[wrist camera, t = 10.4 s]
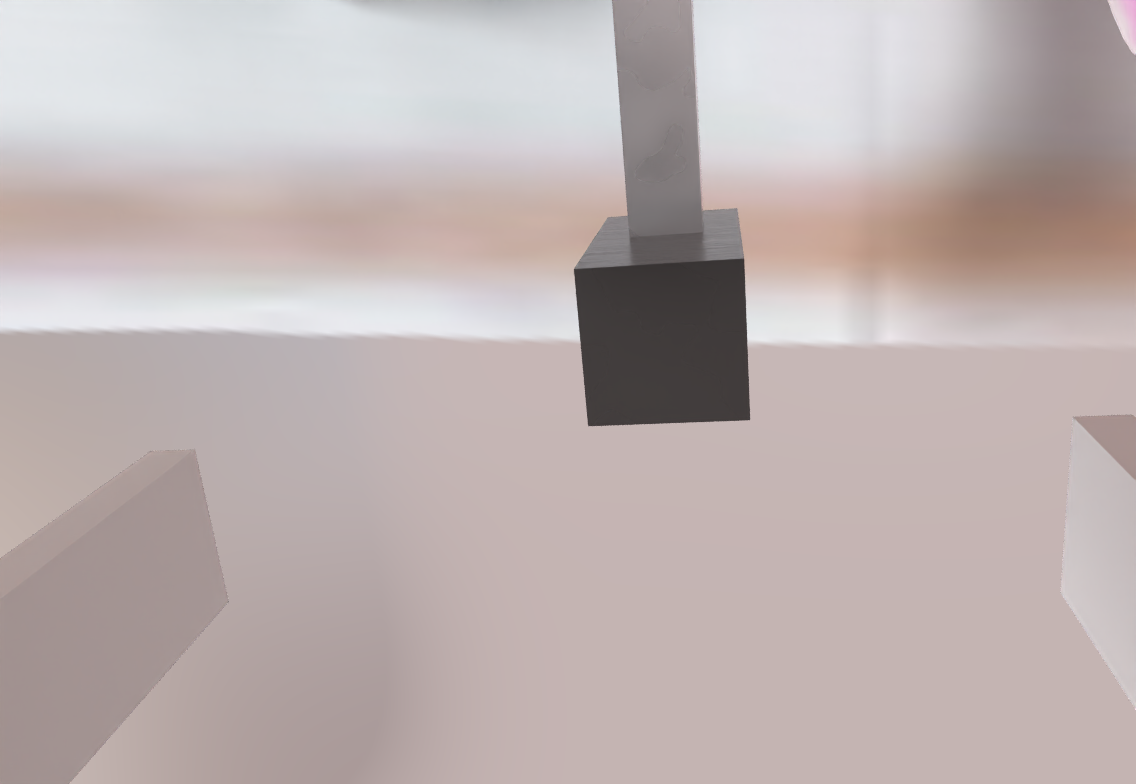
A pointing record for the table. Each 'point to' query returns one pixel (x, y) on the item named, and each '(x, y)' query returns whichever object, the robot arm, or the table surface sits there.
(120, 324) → the table surface
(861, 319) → the table surface
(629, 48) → the shaft
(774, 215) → the table surface
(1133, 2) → the lily
